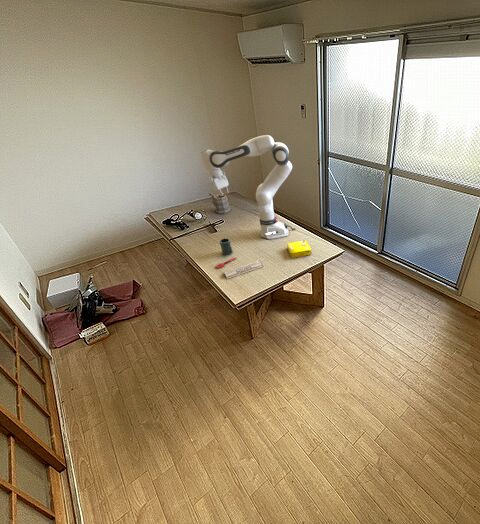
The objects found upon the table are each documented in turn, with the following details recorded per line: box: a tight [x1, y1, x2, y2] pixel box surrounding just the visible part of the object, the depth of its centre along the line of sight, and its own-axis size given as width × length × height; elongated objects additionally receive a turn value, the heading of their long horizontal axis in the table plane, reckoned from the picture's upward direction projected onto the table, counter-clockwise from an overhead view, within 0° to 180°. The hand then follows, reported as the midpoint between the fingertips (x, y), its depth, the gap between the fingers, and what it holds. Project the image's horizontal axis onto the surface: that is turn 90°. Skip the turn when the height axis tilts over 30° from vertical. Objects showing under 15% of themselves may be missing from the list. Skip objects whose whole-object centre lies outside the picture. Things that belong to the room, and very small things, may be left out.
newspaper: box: [223, 260, 263, 280], centre depth 184 cm, size 24×7×2 cm, turn 125°
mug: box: [219, 237, 233, 256], centre depth 199 cm, size 10×7×10 cm
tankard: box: [208, 192, 231, 214], centre depth 260 cm, size 20×13×15 cm, turn 58°
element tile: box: [286, 239, 312, 259], centre depth 203 cm, size 15×15×5 cm
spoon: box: [215, 257, 237, 269], centre depth 191 cm, size 15×4×1 cm, turn 141°
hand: (225, 194), depth 197 cm, fingers open, 8 cm apart
